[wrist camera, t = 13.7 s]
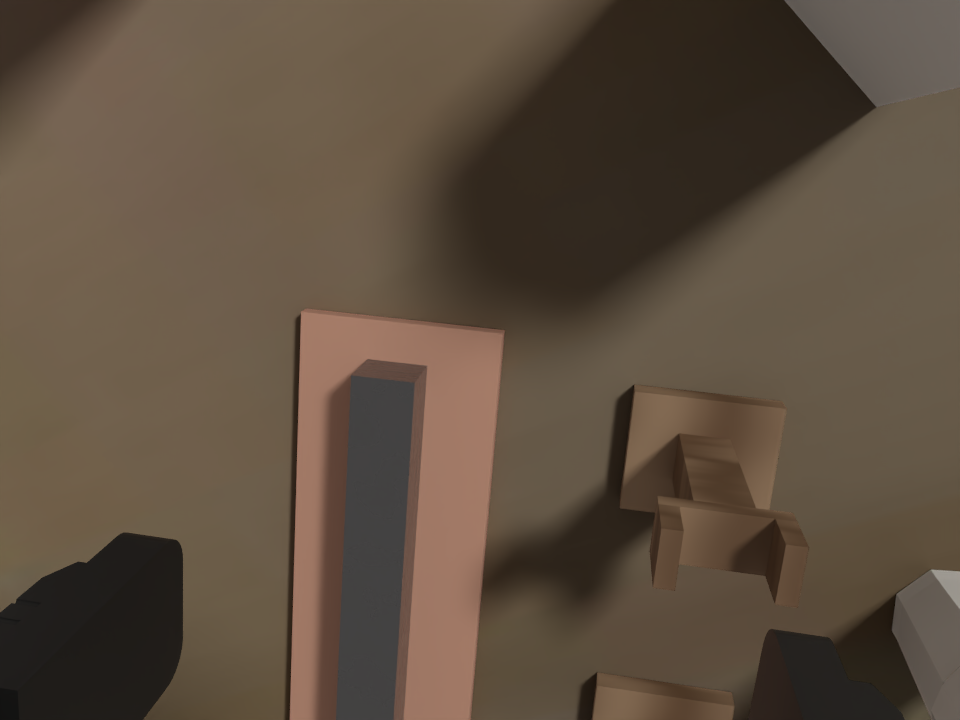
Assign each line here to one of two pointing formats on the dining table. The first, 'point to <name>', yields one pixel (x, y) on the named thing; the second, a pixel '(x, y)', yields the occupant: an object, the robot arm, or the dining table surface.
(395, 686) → the rail
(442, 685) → the mat
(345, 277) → the dining table surface
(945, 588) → the cup
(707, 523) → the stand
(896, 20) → the milk
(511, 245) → the dining table surface
